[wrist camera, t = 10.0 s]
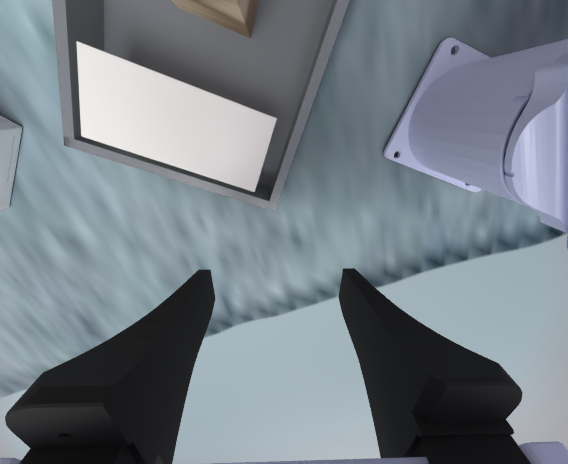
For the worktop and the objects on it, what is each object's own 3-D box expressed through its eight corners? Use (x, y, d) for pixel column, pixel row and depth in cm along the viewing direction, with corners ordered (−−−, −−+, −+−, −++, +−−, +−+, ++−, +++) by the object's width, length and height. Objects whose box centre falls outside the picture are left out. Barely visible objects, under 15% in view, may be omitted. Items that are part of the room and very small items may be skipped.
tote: (380, -110, 12) (415, -184, 9) (275, 195, 20) (274, 211, 17) (96, -286, 10) (12, -470, 7) (101, 139, 18) (64, 145, 15)
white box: (276, 117, 17) (276, 118, 13) (259, 176, 19) (254, 192, 15) (124, 57, 15) (76, 41, 11) (122, 130, 17) (81, 136, 13)
